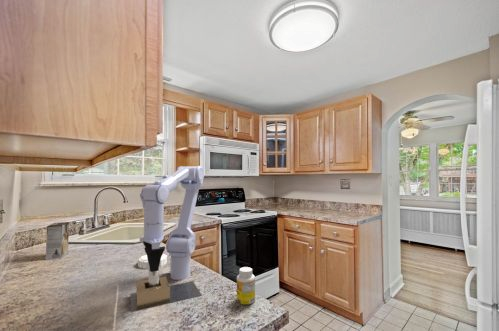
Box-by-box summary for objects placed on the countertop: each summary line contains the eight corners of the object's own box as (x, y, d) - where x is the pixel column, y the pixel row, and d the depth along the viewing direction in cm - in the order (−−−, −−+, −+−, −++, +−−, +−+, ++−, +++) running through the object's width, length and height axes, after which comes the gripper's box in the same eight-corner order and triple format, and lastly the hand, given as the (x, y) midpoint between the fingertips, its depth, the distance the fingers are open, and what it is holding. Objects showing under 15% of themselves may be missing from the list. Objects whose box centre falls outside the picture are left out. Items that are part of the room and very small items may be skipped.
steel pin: (146, 296, 74) (146, 263, 75) (160, 293, 76) (160, 261, 76) (147, 301, 70) (147, 267, 71) (161, 298, 72) (161, 265, 73)
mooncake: (138, 262, 108) (138, 254, 109) (165, 258, 113) (165, 250, 113) (137, 271, 97) (137, 262, 98) (167, 266, 102) (168, 258, 102)
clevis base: (130, 296, 76) (131, 280, 76) (192, 283, 85) (192, 269, 85) (130, 315, 65) (131, 297, 65) (202, 298, 74) (202, 282, 74)
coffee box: (52, 254, 119) (54, 222, 120) (68, 253, 121) (69, 221, 122) (45, 260, 111) (46, 225, 112) (61, 258, 113) (63, 224, 114)
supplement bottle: (237, 299, 74) (237, 265, 74) (255, 299, 74) (254, 265, 74) (236, 308, 68) (236, 272, 69) (255, 308, 68) (255, 272, 69)
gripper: (139, 220, 79) (138, 261, 78) (141, 228, 66) (139, 277, 65) (161, 218, 82) (160, 258, 81) (167, 225, 69) (166, 273, 69)
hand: (153, 266), depth 74 cm, fingers open, 7 cm apart
